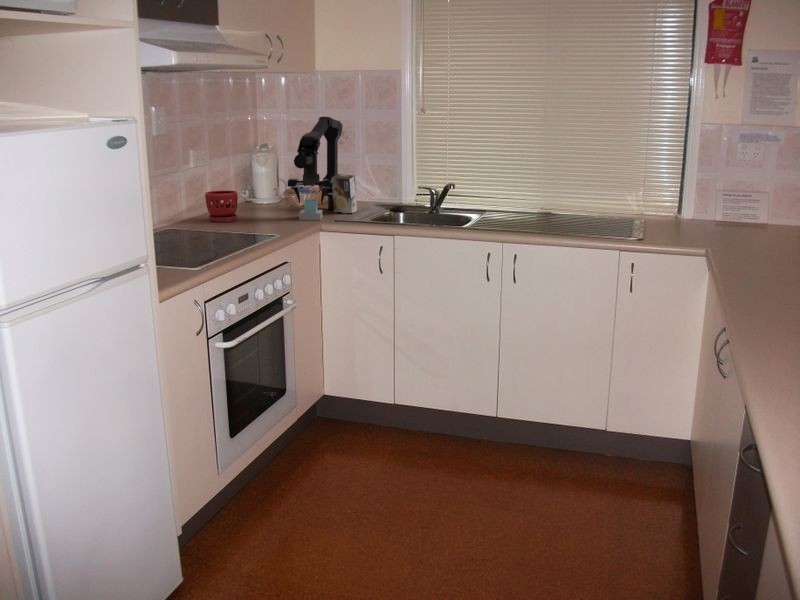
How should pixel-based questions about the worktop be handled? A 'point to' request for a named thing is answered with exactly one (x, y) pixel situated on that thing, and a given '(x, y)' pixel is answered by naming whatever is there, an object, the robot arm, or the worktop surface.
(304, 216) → the stone plinth
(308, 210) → the teal cube
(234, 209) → the plant pot
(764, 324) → the worktop surface
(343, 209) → the coffee box
